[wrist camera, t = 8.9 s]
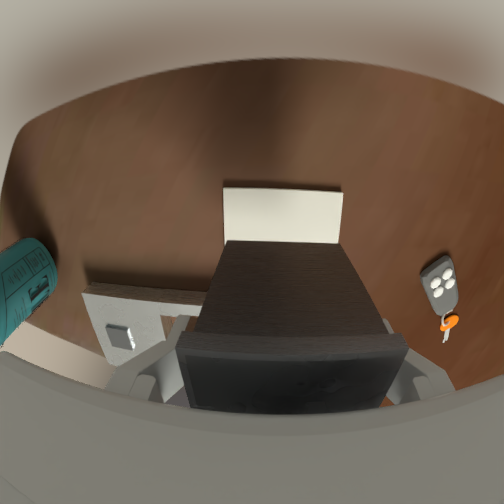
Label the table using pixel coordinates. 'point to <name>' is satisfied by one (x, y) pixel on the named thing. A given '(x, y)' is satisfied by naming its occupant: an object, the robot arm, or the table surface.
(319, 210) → the pad
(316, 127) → the table surface
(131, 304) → the cabinet panel
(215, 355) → the dark grey box
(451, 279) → the key chain
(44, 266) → the beverage bottle
